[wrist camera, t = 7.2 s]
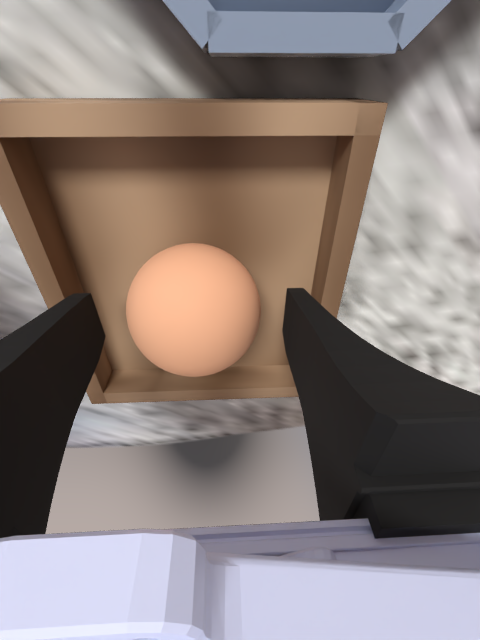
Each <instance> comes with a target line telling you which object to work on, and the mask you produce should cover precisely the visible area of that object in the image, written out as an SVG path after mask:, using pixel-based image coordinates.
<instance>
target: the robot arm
mask: <svg viewBox="0 0 480 640" xmlns="http://www.w3.org/2000/svg"><path fill="white" fill-rule="evenodd" d="M282 332H283V339H284V345H285V351H286V355H287V359H288V362H289V366H290V369H291V373H292V376H293V379H294V383H295V386H296V389H297V393H298V396H299V399H300V403H301V407H302V411H303V416H304V421H305V427H306V432H307V438H308V444H309V449H310V455H311V461H312V467H313V474H314V481H315V487H316V494H317V502H318V508H319V517H320V521H309V522H291V523H274V524H254V525H235V526H218V527H199V528H180V529H132V530H113V531H94V532H77V533H76V532H75V533H57V534H45V532H46V527H47V522H48V517H49V512H50V507H51V503H52V499H53V494H54V490H55V486H56V482H57V477H58V473H59V470H60V466H61V462H62V458H63V454H64V451H65V447H66V444H67V441H68V437H69V434H70V431H71V428H72V424H73V421H74V419H75V416H76V413H77V411H78V408H79V406H80V404H81V401H82V399H83V397H84V394H85V392H86V390H87V388H88V385H89V383H90V381H91V378H92V376H93V374H94V371H95V369H96V367H97V364H98V362H99V359H100V356H101V353H102V349H103V345H104V341H105V336H106V335H105V332H104V330H103V327H102V324H101V321H100V318H99V315H98V312H97V309H96V306H95V303H94V301H93V298H92V295H91V293H74V294H72V295H70V296H68V297H67V298H65V299H63V300H62V301H60V302H59V303H57V304H56V305H54V306H53V307H51V308H50V309H48V310H47V311H45V312H44V313H42V314H41V315H39V316H38V317H36V318H35V319H33V320H32V321H30V322H29V323H27V324H26V325H24V326H22V327H21V328H19V329H17V330H16V331H14V332H13V333H11V334H9V335H8V336H6V337H4V338H3V339H1V340H0V640H480V395H477V394H475V393H472V392H469V391H467V390H464V389H461V388H459V387H456V386H454V385H451V384H448V383H446V382H443V381H441V380H438V379H436V378H434V377H432V376H429V375H427V374H425V373H423V372H420V371H418V370H416V369H414V368H412V367H410V366H408V365H406V364H404V363H402V362H400V361H399V360H397V359H395V358H393V357H391V356H389V355H388V354H386V353H384V352H382V351H381V350H379V349H377V348H376V347H374V346H373V345H371V344H370V343H368V342H367V341H365V340H364V339H362V338H361V337H359V336H358V335H357V334H355V333H354V332H353V331H351V330H350V329H349V328H347V327H346V326H345V325H344V324H342V323H341V322H340V321H339V320H337V319H336V318H335V317H334V316H333V315H332V314H331V313H329V312H328V311H327V310H326V309H325V308H324V307H323V306H322V305H321V304H320V303H319V302H318V301H317V300H315V299H314V298H313V297H312V296H311V295H310V294H309V293H308V292H307V291H306V290H305V289H304V288H287V292H286V301H285V310H284V319H283V328H282Z"/></svg>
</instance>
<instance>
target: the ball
mask: <svg viewBox="0 0 480 640" xmlns="http://www.w3.org/2000/svg"><path fill="white" fill-rule="evenodd" d="M260 317H261V303H260V297H259V293H258V290H257V287H256V284H255V282H254V280H253V278H252V276H251V275H250V273H249V272H248V270H247V269H246V268H245V267H244V266H243V264H242V263H241V262H240V261H238V260H237V259H236V258H235V257H233V256H232V255H231V254H229V253H227V252H226V251H224V250H222V249H219V248H217V247H214V246H211V245H206V244H199V243H186V244H180V245H175V246H172V247H169V248H167V249H165V250H163V251H161V252H159V253H157V254H156V255H154V256H153V257H151V258H150V259H149V260H148V261H147V262H146V263H145V264H144V265H143V266H142V267H141V268H140V270H139V271H138V272H137V274H136V276H135V277H134V279H133V281H132V283H131V286H130V288H129V292H128V295H127V301H126V318H127V324H128V328H129V331H130V334H131V336H132V338H133V340H134V342H135V344H136V346H137V347H138V348H139V350H140V351H141V352H142V354H143V355H144V356H145V357H146V358H147V359H148V360H150V361H151V362H152V363H153V364H155V365H156V366H158V367H159V368H161V369H163V370H165V371H167V372H170V373H173V374H176V375H181V376H188V377H200V376H207V375H211V374H215V373H217V372H220V371H222V370H224V369H226V368H228V367H230V366H231V365H233V364H234V363H235V362H236V361H238V360H239V359H240V358H241V357H242V356H243V355H244V354H245V353H246V351H247V350H248V349H249V347H250V346H251V344H252V342H253V341H254V339H255V336H256V334H257V331H258V328H259V323H260Z"/></svg>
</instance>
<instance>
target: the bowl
mask: <svg viewBox="0 0 480 640" xmlns="http://www.w3.org/2000/svg"><path fill="white" fill-rule="evenodd" d="M162 1H163V2H164V3H165V5H166V6H167V7H168V8H169V10H170V11H171V12H172V13H173V14H174V16H175V17H176V18H177V19H178V21H179V22H180V23H181V24H182V26H183V27H184V28H185V29H186V30H187V32H188V33H189V34H190V35H191V37H192V38H193V39H194V40H195V42H196V43H197V44H198V45H199V46H200V48H201V49H202V50H203V51H204V53H205V54H206V53H207V51H208V50H209V54H210V56H211V57H373V56H380V55H388V54H395V52H396V51H399V50H403V49H404V48H405V47H406V46H407V45H408V44H409V43H410V42H411V41H412V40H413V39H414V38H415V37H416V36H417V35H418V34H419V33H420V32H421V31H422V30H423V29H424V28H425V27H426V26H427V25H428V24H429V23H430V21H431V20H432V19H433V18H434V17H435V16H436V15H437V14H438V13H439V12H440V11H441V10H442V9H443V8H444V7H445V6H446V5H447V4H448V3H449V2H450V1H451V0H162Z"/></svg>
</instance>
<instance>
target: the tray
mask: <svg viewBox="0 0 480 640" xmlns="http://www.w3.org/2000/svg"><path fill="white" fill-rule="evenodd" d="M387 105H388V103H384V102H377V101H371V100H364V99H358V98H80V99H0V205H1V207H2V209H3V211H4V213H5V216H6V218H7V220H8V222H9V224H10V227H11V229H12V231H13V233H14V235H15V237H16V240H17V242H18V244H19V246H20V248H21V251H22V253H23V255H24V257H25V259H26V261H27V264H28V266H29V268H30V270H31V272H32V274H33V277H34V279H35V281H36V283H37V285H38V288H39V290H40V292H41V294H42V296H43V298H44V301H45V303H46V305H47V307H48V309H50V308H51V307H53V306H54V305H56V304H57V303H59V302H60V301H62V300H63V299H65V298H67V297H68V296H70V295H72V294H74V293H91V295H92V298H93V301H94V303H95V306H96V309H97V312H98V315H99V318H100V321H101V324H102V327H103V330H104V332H105V335H106V336H105V341H104V345H103V349H102V353H101V356H100V359H99V362H98V364H97V367H96V369H95V371H94V374H93V376H92V378H91V381H90V383H89V385H88V388H87V390H86V392H87V394H88V397H89V399H90V401H91V403H92V404H101V403H129V402H158V401H186V400H215V399H243V398H272V397H299V396H298V393H297V389H296V386H295V383H294V379H293V376H292V373H291V369H290V366H289V362H288V359H287V355H286V351H285V345H284V339H283V332H282V328H283V319H284V310H285V301H286V292H287V288H304V289H305V290H306V291H307V292H308V293H309V294H310V295H311V296H312V297H313V298H314V299H315V300H317V301H318V302H319V303H320V304H321V305H322V306H323V307H324V308H325V309H326V310H327V311H328V312H329V313H331V314H332V315H333V316H334V317H335V318H337V314H338V310H339V306H340V301H341V297H342V293H343V289H344V285H345V281H346V276H347V272H348V268H349V264H350V260H351V255H352V251H353V247H354V243H355V239H356V235H357V230H358V226H359V222H360V218H361V214H362V209H363V205H364V201H365V197H366V193H367V189H368V184H369V180H370V176H371V172H372V168H373V163H374V159H375V155H376V151H377V147H378V143H379V138H380V134H381V130H382V126H383V122H384V117H385V113H386V109H387ZM186 243H199V244H206V245H211V246H214V247H217V248H219V249H222V250H224V251H226V252H227V253H229V254H231V255H232V256H233V257H235V258H236V259H237V260H238V261H240V262H241V263H242V264H243V266H244V267H245V268H246V269H247V270H248V272H249V273H250V275H251V276H252V278H253V280H254V282H255V284H256V287H257V290H258V293H259V297H260V303H261V317H260V323H259V328H258V331H257V334H256V336H255V339H254V341H253V342H252V344H251V346H250V347H249V349H248V350H247V351H246V353H245V354H244V355H243V356H242V357H241V358H240V359H239V360H238V361H236V362H235V363H234V364H233V365H231V366H230V367H228V368H226V369H224V370H222V371H220V372H217V373H215V374H211V375H207V376H200V377H188V376H181V375H176V374H173V373H170V372H167V371H165V370H163V369H161V368H159V367H158V366H156V365H155V364H153V363H152V362H151V361H150V360H148V359H147V358H146V357H145V356H144V355H143V354H142V352H141V351H140V350H139V348H138V347H137V346H136V344H135V342H134V340H133V338H132V336H131V334H130V331H129V328H128V324H127V318H126V301H127V295H128V292H129V288H130V286H131V283H132V281H133V279H134V277H135V276H136V274H137V272H138V271H139V270H140V268H141V267H142V266H143V265H144V264H145V263H146V262H147V261H148V260H149V259H150V258H151V257H153V256H154V255H156V254H157V253H159V252H161V251H163V250H165V249H167V248H169V247H172V246H175V245H180V244H186Z"/></svg>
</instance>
